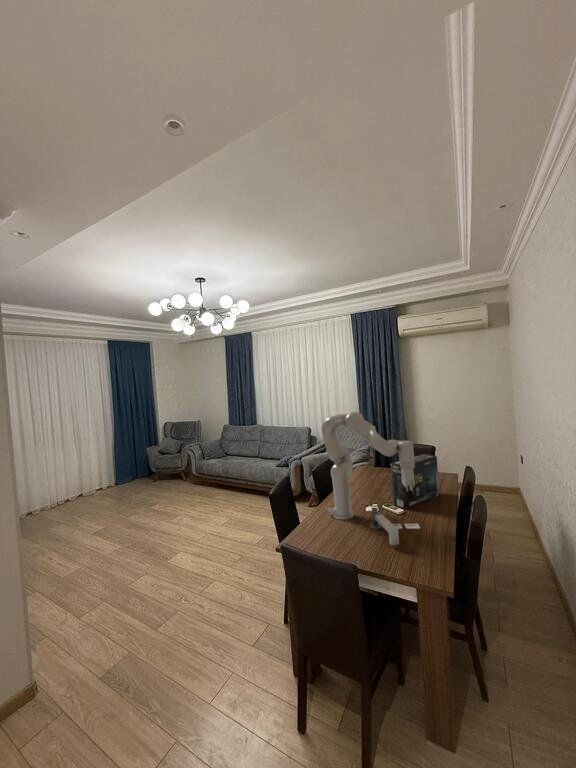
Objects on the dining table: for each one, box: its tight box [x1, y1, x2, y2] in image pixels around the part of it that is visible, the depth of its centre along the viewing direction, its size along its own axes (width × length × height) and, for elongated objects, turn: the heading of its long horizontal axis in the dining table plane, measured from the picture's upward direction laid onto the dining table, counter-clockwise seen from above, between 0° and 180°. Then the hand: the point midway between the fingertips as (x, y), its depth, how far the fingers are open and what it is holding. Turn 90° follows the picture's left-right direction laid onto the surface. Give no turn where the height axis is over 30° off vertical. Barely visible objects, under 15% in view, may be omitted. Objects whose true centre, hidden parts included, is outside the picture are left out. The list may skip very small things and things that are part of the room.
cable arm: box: [371, 511, 400, 546], centre depth 153 cm, size 20×4×7 cm, turn 8°
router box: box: [390, 453, 440, 510], centre depth 198 cm, size 36×11×27 cm, turn 123°
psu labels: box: [392, 523, 421, 530], centre depth 163 cm, size 16×5×1 cm, turn 81°
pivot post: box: [369, 506, 382, 530], centre depth 166 cm, size 6×6×10 cm
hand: (409, 498), depth 163 cm, fingers closed
